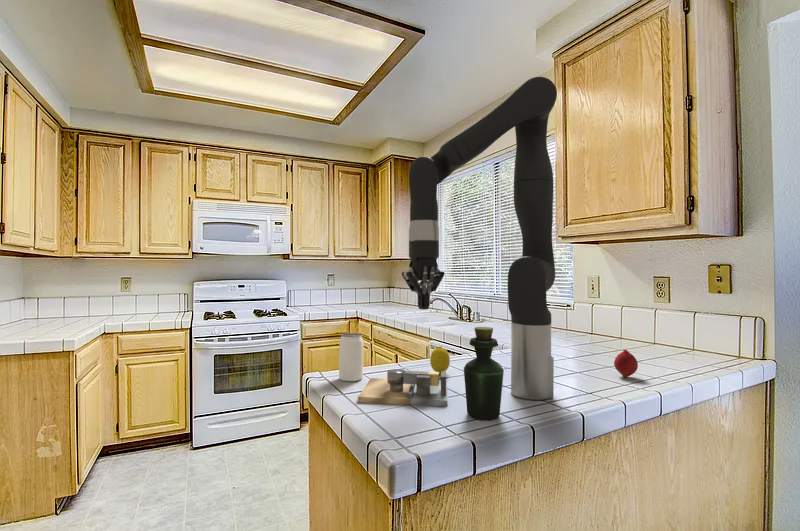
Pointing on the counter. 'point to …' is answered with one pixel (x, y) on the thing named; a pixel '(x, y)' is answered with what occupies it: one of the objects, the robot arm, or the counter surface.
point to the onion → (625, 363)
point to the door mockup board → (406, 392)
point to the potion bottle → (483, 378)
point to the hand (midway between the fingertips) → (423, 309)
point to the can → (351, 357)
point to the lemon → (439, 359)
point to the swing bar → (410, 377)
